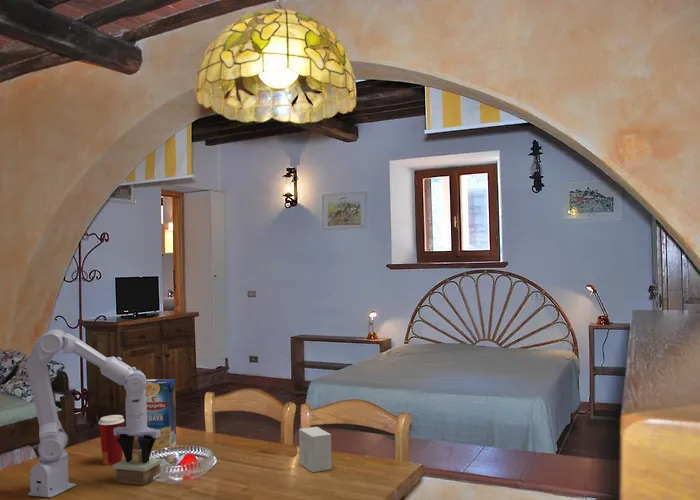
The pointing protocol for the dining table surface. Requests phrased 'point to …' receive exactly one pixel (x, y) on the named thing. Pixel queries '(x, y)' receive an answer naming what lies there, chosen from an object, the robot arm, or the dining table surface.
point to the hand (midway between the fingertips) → (137, 461)
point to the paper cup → (110, 439)
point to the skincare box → (315, 449)
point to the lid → (137, 463)
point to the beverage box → (161, 411)
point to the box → (136, 476)
